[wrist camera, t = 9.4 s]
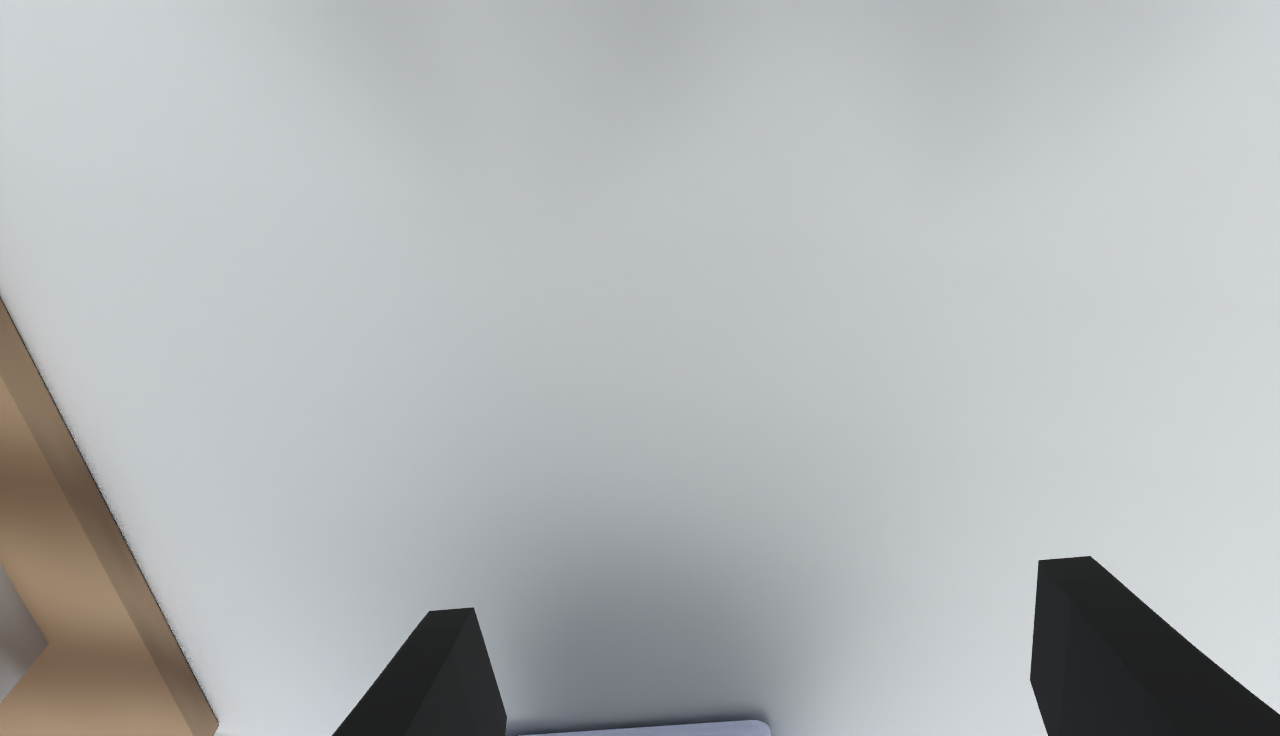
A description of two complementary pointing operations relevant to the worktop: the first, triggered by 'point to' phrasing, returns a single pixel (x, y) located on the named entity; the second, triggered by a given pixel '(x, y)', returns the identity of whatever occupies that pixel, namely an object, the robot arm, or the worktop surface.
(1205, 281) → the worktop surface
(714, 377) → the worktop surface
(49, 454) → the hinge board
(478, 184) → the worktop surface
